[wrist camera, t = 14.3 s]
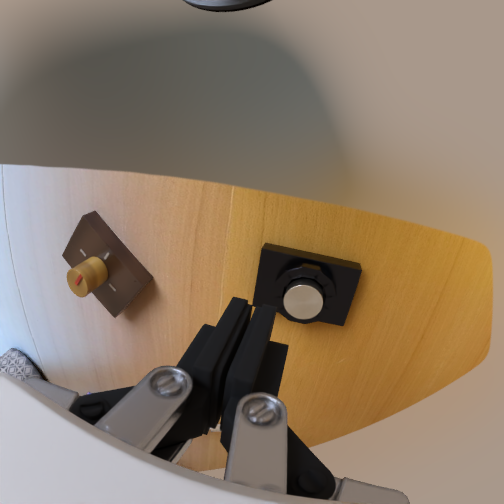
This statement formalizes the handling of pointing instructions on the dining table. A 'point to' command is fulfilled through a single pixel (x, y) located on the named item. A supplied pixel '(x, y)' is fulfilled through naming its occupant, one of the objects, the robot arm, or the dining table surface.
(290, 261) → the block
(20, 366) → the planter
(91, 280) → the lock knob
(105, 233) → the rotary dial base
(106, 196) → the dining table surface
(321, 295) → the bell button
